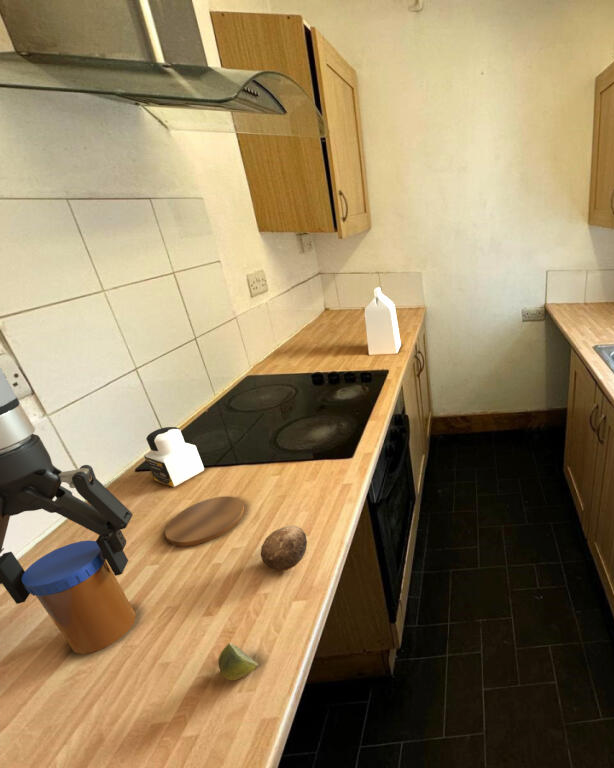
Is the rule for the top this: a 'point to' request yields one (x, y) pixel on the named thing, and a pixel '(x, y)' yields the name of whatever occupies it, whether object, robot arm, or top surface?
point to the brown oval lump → (284, 548)
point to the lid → (63, 568)
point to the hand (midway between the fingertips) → (75, 581)
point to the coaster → (204, 521)
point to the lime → (235, 663)
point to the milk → (382, 325)
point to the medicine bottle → (172, 457)
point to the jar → (91, 612)
